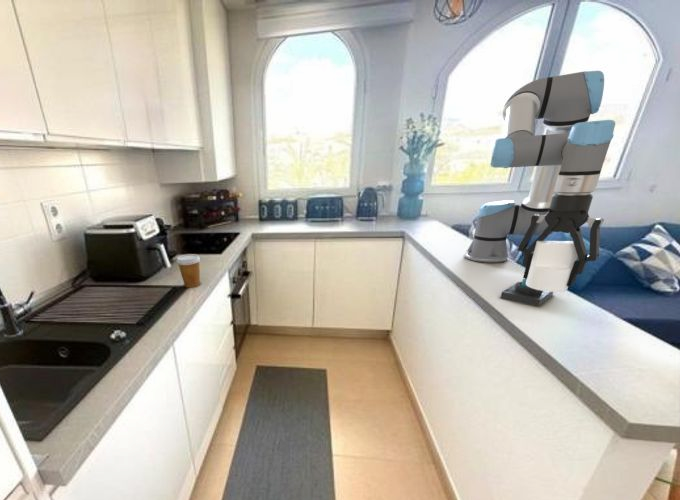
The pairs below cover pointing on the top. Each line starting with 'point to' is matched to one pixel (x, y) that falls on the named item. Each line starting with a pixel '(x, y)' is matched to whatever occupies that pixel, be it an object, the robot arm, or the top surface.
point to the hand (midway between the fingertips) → (547, 280)
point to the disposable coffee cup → (189, 269)
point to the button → (524, 283)
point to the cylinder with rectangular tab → (551, 265)
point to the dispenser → (525, 295)
